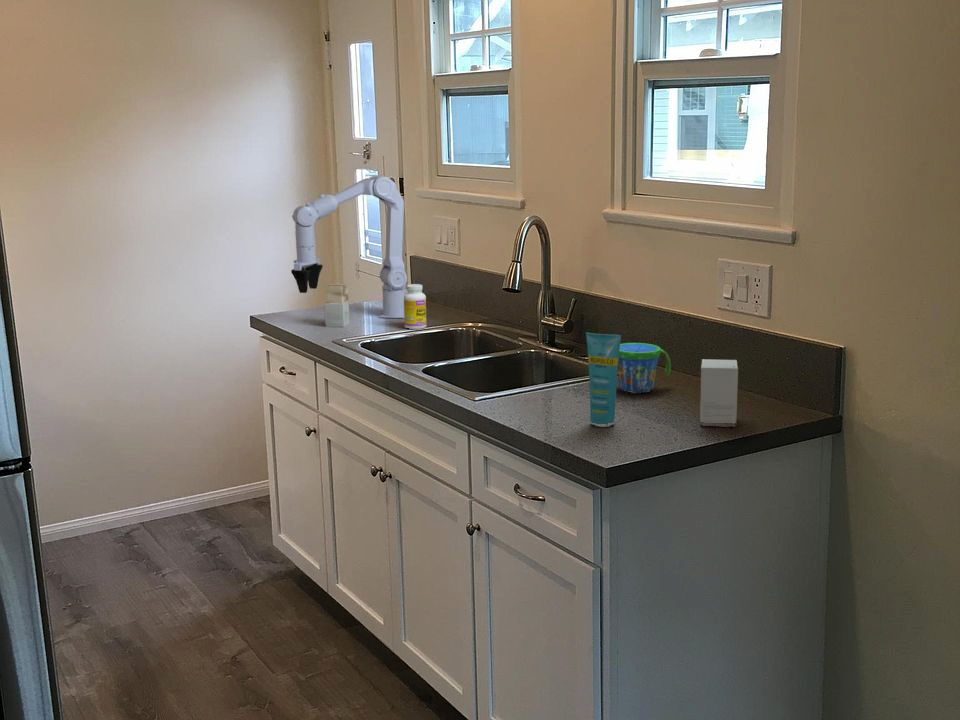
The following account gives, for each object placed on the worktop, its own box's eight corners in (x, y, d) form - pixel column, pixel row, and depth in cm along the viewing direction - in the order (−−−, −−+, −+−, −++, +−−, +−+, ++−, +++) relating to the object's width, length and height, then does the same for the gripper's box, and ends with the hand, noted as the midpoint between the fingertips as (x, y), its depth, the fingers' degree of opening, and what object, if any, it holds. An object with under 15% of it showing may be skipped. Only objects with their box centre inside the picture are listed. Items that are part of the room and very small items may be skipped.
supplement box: (736, 418, 219) (738, 359, 216) (736, 428, 212) (738, 368, 209) (699, 416, 221) (701, 358, 218) (698, 427, 214) (700, 366, 211)
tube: (582, 426, 216) (582, 334, 211) (588, 419, 220) (589, 329, 215) (617, 429, 213) (618, 337, 208) (623, 422, 217) (624, 332, 213)
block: (333, 299, 322) (332, 283, 321) (348, 300, 321) (347, 284, 320) (326, 302, 317) (325, 286, 316) (341, 303, 316) (341, 286, 315)
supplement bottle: (416, 330, 310) (415, 287, 307) (400, 328, 314) (398, 286, 311) (431, 326, 315) (430, 284, 312) (414, 324, 319) (413, 282, 316)
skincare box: (350, 323, 323) (349, 300, 321) (344, 327, 317) (343, 303, 315) (331, 323, 324) (330, 299, 322) (325, 327, 318) (323, 303, 316)
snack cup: (665, 383, 247) (666, 341, 245) (675, 395, 237) (676, 351, 234) (599, 385, 246) (599, 343, 244) (606, 397, 236) (606, 353, 234)
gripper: (303, 242, 325) (305, 286, 328) (283, 249, 311) (286, 294, 315) (324, 243, 323) (326, 286, 327) (305, 249, 310) (308, 294, 313)
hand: (308, 290), depth 320 cm, fingers open, 7 cm apart
